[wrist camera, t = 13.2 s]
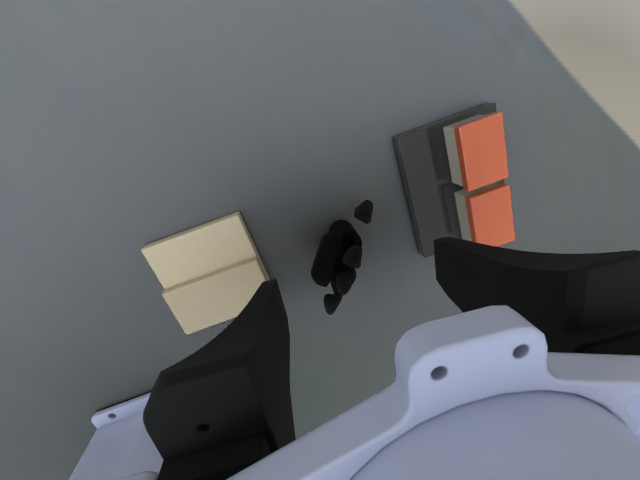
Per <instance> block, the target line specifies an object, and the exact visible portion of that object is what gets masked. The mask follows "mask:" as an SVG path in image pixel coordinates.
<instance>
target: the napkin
mask: <svg viewBox="0 0 640 480" xmlns="http://www.w3.org/2000/svg"><path fill="white" fill-rule="evenodd" d="M141 251H142V253H143V255H144V256H145V258H146V259H147V261H148V263H149V264H150V266H151V268H152V269H153V271H154V273H155V274H156V276H157V278H158V279H159V281H160V282H161V284H162V286H163V287H164V289H165V290H164V291H163V293H162V296H163V298H164V299H165V301H166V302H167V304H168V306H169V307H170V309H171V311H172V312H173V314H174V315H175V317H176V319H177V320H178V322H179V323H180V325H181V327H182V328H183V330H184V332H185V333H186V335H188V334H191V333H193V332H196V331H199V330H202V329H204V328H207V327H210V326H213V325H215V324H218V323H221V322H224V321H226V320H229V319H232V318H234V317H237V316H238V315H239V314H240V312H241V311H242V310H243V309H244V307H245V306H246V305H247V304H248V302H249V301H250V299H251V298H252V297H253V295H254V294H255V292H256V291H257V289H258V288H259V286H260V285H261V283H262V282H264V281H268V280H270V278H269V276H268V274H267V272H266V269H265V267H264V265H263V263H262V261H261V258H260V256H259V254H258V252H257V250H256V247H255V245H254V243H253V241H252V238H251V236H250V234H249V232H248V230H247V227H246V225H245V223H244V221H243V219H242V216H241V214H240V212H235V213H232V214H230V215H227V216H224V217H221V218H218V219H216V220H213V221H210V222H207V223H205V224H202V225H199V226H196V227H194V228H191V229H188V230H185V231H183V232H180V233H177V234H174V235H172V236H169V237H166V238H163V239H161V240H158V241H155V242H152V243H150V244H147V245H145V246H144V247H143V248H142V249H141Z"/></svg>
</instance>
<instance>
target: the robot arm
mask: <svg viewBox="0 0 640 480" xmlns="http://www.w3.org/2000/svg"><path fill="white" fill-rule="evenodd" d="M433 241H434V254H435V267H436V280H437V281H438V283H439V284H440V286H441V287H442V289H443V290H444V291H445V293H446V294H447V296H448V297H449V298H450V299H451V300H452V301H453V302H454V303H455V304H456V305H457V306H458V307H459V308H460V309H461V311H462V312H463V313H460V314H457V315H453V316H449V317H445V318H441V319H437V320H433V321H429V322H426V323H422V324H420V325H418V326H416V327H414V328H412V329H410V330H408V331H406V333H405V334H404V335H403V336H402V338H401V339H400V340H399V341H398V342H397V344H396V350H395V355H394V360H395V366H396V379H395V381H394V382H393V384H392V385H390V386H388V387H387V388H385V389H383V390H381V391H380V392H378V393H376V394H374V395H373V396H371V397H369V398H367V399H366V400H364V401H362V402H360V403H359V404H357V405H355V406H354V407H352V408H350V409H348V410H347V411H345V412H343V413H341V414H340V415H338V416H336V417H334V418H333V419H331V420H329V421H327V422H326V423H324V424H322V425H320V426H319V427H317V428H315V429H313V430H312V431H310V432H308V433H306V434H305V435H303V436H301V437H299V438H298V439H295V431H294V422H293V413H292V404H291V394H290V379H289V376H290V334H289V326H288V319H287V314H286V311H285V307H284V304H283V301H282V297H281V294H280V290H279V287H278V283H277V280H276V279H272V280H268V281H264V282H262V283H261V285H260V286H259V288H258V289H257V291H256V292H255V294H254V295H253V297H252V298H251V299H250V301H249V302H248V304H247V305H246V306H245V307H244V309H243V310H242V311H241V312H240V314H239V315H238V316H237V317H236V318H235V319H234V321H233V322H232V323H231V324H230V325H229V326H228V327H227V328H226V329H225V330H223V331H222V332H221V333H220V334H219V335H218V336H216V337H215V338H214V339H213V340H211V341H210V342H209V343H208V344H206V345H205V346H204V347H202V348H201V349H199V350H198V351H196V352H195V353H193V354H192V355H190V356H189V357H187V358H185V359H184V360H182V361H180V362H178V363H176V364H174V365H173V366H171V367H169V368H167V369H165V370H163V371H161V373H160V375H159V377H158V379H157V381H156V383H155V385H154V387H153V390H152V392H151V393H148V394H145V395H142V396H140V397H137V398H134V399H131V400H129V401H126V402H123V403H121V404H118V405H115V406H112V407H110V408H107V409H104V410H101V411H99V412H96V413H95V414H94V415H93V417H92V419H91V421H92V423H93V424H94V425H95V426H96V427H97V430H96V432H95V434H94V435H93V437H92V439H91V441H90V443H89V444H88V446H87V448H86V450H85V451H84V453H83V455H82V457H81V459H80V460H79V462H78V464H77V466H76V467H75V469H74V471H73V473H72V475H71V476H70V478H69V480H640V251H637V250H633V251H621V252H610V253H594V254H553V253H537V252H527V251H519V250H512V249H506V248H501V247H495V246H490V245H486V244H481V243H477V242H472V241H468V240H464V239H459V238H454V237H443V238H439V239H435V240H433ZM112 413H113V414H112Z"/></svg>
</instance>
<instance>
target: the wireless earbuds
mask: <svg viewBox="0 0 640 480" xmlns="http://www.w3.org/2000/svg"><path fill="white" fill-rule="evenodd" d="M372 210H373V203H372V202H371V201H369V200H365V201H364V202H362V203H361V204H360V205H359V206H358V207H356V208H355V212H354V216H355V218H357V219H358V220H361V221H363V222H364V223H366V224H368V223H370V222H371V216H372ZM361 246H362V241H361V238H360V237H359V235H358V234H357V232H356V231H355V229H354V228H353V227H352V225H351V224H350V223H349V222H347V221H345V220H338V221H335V222H334V223H333V224H332V225H331V226H330V229H329V232H328V233H326V234H325V235H324V236H323V238H322V239H321V242H320V245H319V248H318V251H317V254H316V257H315V260H314V263H313V266H312V269H311V275H312V278H313V280H314V281H315V282H316V283H317V284H318V285H320V286H324V287H326V286H327V285H328V284H329V282H331V285H332V288H333V291H334V294H326V295H325V296H324V306H325V310H326V312H327V313H328V314H329V315H331V314H333V313H334V311H335V310H336V308H337V307H338V305H339V303H340V302H341V299H342V295H345V294H346V293H347V292H348V291H349V289H350V288H351V286H352V284H353V283H354V281H355V279H356V271H355V269H354V268H356V269H357V268H359V267H360V266H361V257H362V248H361Z"/></svg>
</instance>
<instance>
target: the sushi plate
mask: <svg viewBox="0 0 640 480" xmlns="http://www.w3.org/2000/svg"><path fill="white" fill-rule="evenodd" d="M393 142H394V147H395V151H396V155H397V159H398V164H399V168H400V172H401V177H402V181H403V185H404V189H405V194H406V198H407V202H408V206H409V211H410V215H411V219H412V224H413V228H414V232H415V236H416V241H417V245H418V249H419V253H420V254H421V255H422V256H423V257H427V256H430V255H433V254H434V241H433V240H435V239H439V238H443V237H454V238H459V239H464V240H468V241H472V242H477V243H481V244H486V245H490V246H495V247H498V246H500V245H503V244H506V243H509V242H511V241H514V240H515V232H514V223H513V213H512V203H511V193H510V185H509V184H505V183H504V179H505V178H508V177H509V174H508V164H507V154H506V144H505V135H504V125H503V115H502V112H496V104H495V103H486V104H483V105H480V106H478V107H475V108H472V109H469V110H466V111H464V112H461V113H458V114H455V115H453V116H450V117H447V118H444V119H442V120H439V121H436V122H433V123H431V124H428V125H425V126H422V127H420V128H417V129H414V130H411V131H409V132H406V133H403V134H400V135H398V136H395V137H393Z"/></svg>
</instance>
